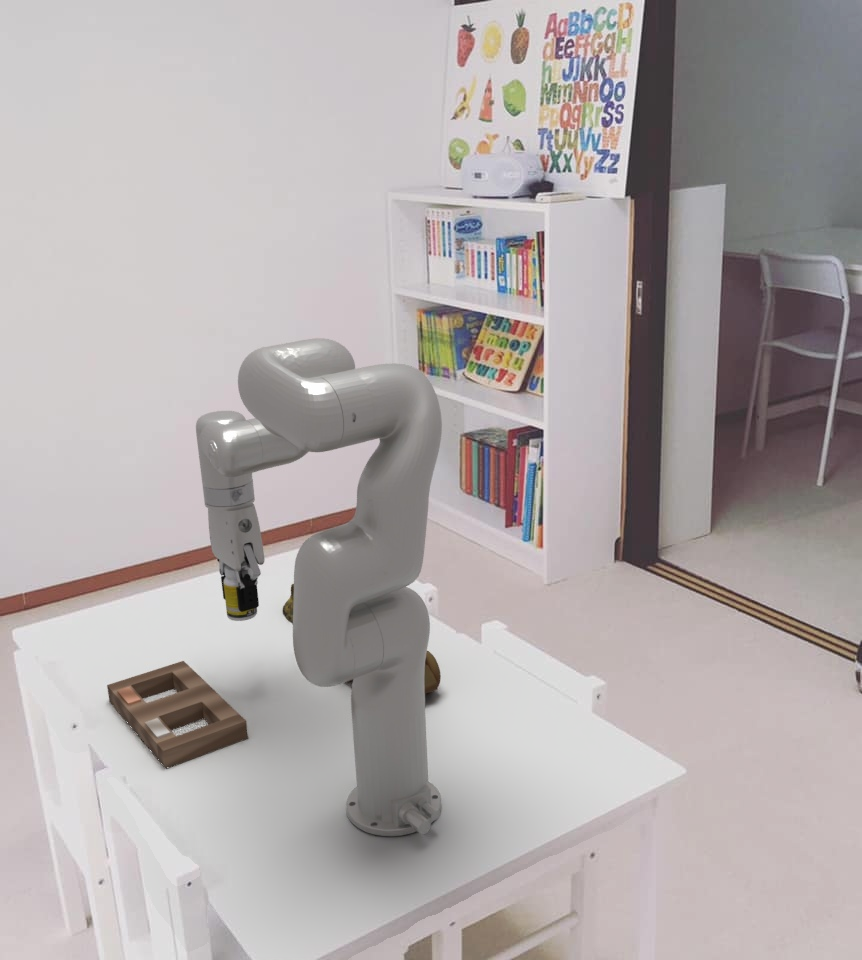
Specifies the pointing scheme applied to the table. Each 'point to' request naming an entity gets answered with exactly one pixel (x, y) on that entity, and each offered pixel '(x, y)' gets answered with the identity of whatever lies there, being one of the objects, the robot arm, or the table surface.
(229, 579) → the supplement bottle
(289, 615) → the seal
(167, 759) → the socket block
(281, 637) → the table surface
